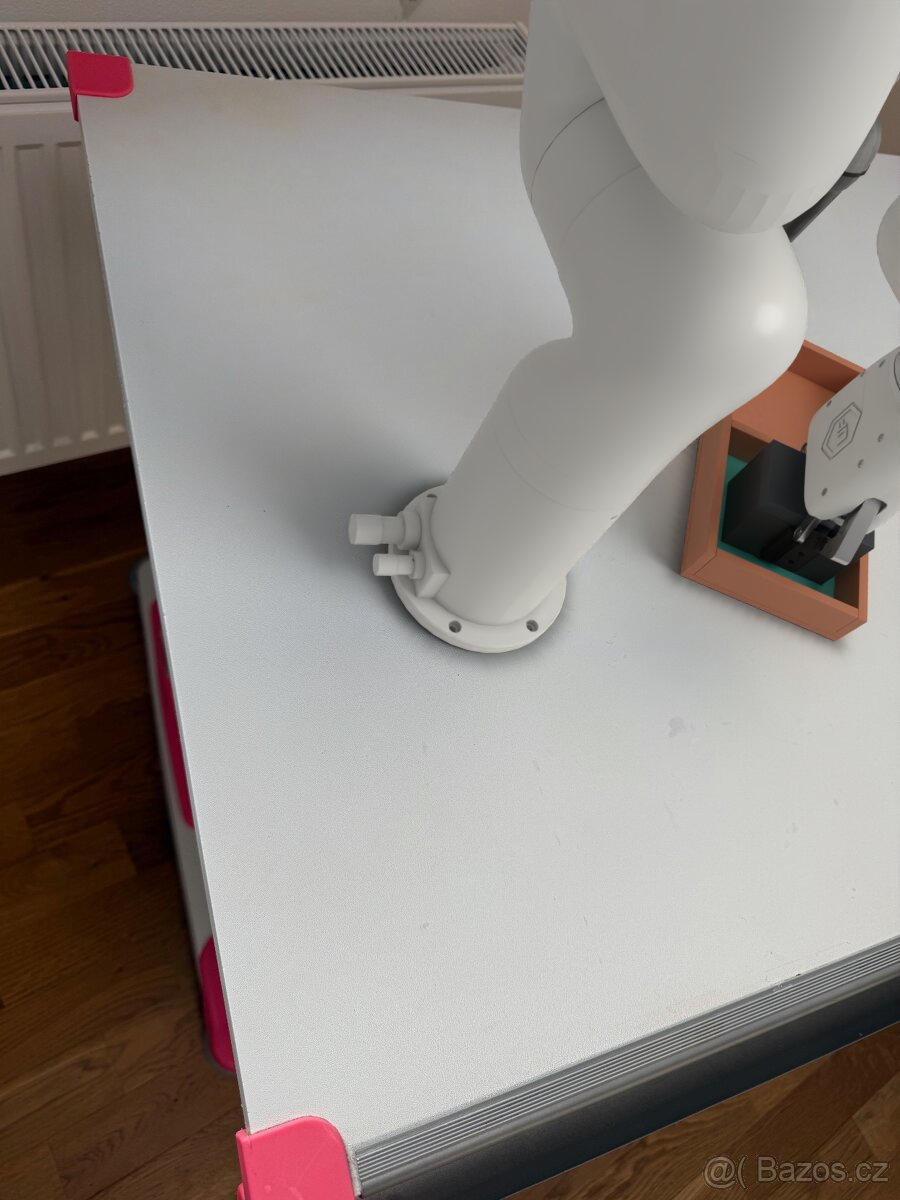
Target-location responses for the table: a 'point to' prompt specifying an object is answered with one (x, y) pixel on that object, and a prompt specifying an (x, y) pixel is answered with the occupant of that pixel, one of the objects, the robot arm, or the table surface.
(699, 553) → the divided orange tray
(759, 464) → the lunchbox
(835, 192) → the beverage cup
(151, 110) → the table surface
